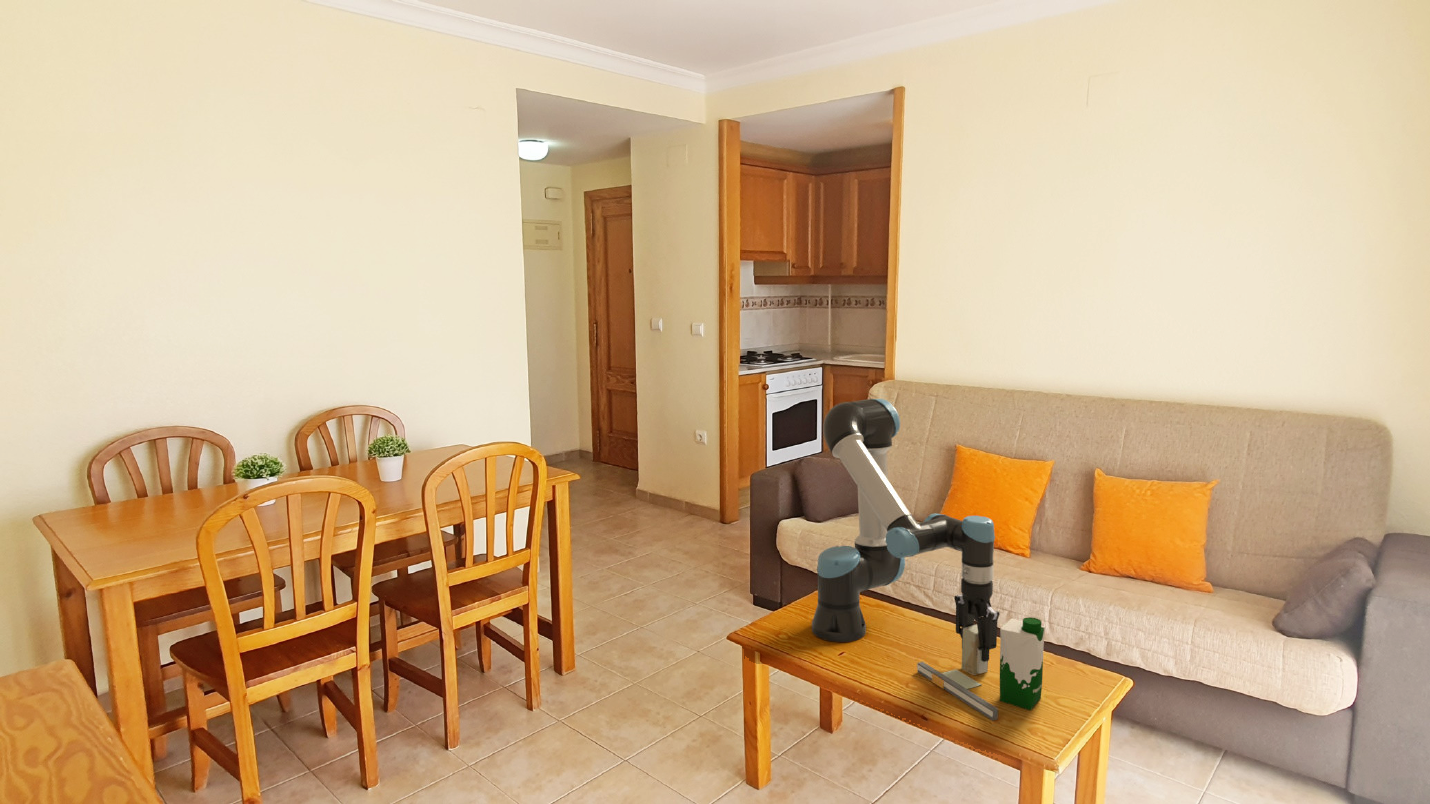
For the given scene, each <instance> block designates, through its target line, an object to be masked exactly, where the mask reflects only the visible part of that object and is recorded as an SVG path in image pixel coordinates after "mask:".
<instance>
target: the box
mask: <svg viewBox="0 0 1430 804" xmlns="http://www.w3.org/2000/svg"><path fill="white" fill-rule="evenodd" d="M978 647H980V643H979V635H978V628H977V623H976V624H973V625H972V626H969V627H965V628H963V643H962V642H961V670H963V671H965V672H966V673H968V674H970V675H972V676H977V675H980V674H979V673H977V648H978ZM988 669H989V665H988V666H987V672H988Z"/></svg>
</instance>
